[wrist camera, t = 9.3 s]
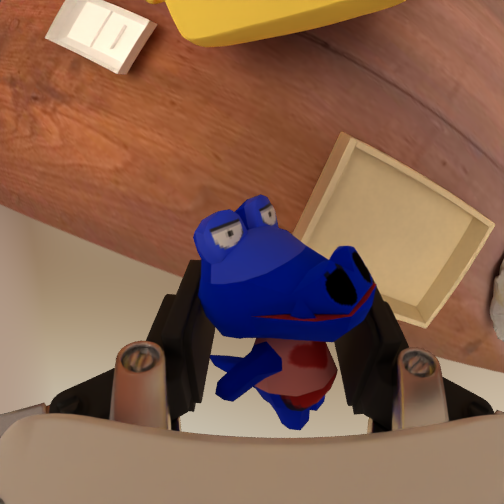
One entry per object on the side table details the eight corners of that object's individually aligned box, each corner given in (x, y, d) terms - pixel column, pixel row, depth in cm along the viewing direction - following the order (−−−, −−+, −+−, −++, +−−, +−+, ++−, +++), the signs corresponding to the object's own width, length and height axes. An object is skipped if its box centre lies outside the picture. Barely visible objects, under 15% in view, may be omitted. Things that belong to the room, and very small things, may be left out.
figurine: (191, 291, 6) (190, 186, 9) (219, 451, 10) (207, 351, 14) (420, 266, 6) (337, 180, 10) (344, 429, 10) (310, 339, 14)
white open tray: (150, 20, 18) (160, 26, 21) (71, -11, 16) (86, -6, 19) (117, 73, 20) (130, 74, 23) (44, 38, 18) (60, 39, 21)
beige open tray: (279, 260, 31) (280, 280, 28) (340, 130, 25) (351, 136, 22) (415, 309, 33) (426, 328, 30) (477, 210, 27) (495, 224, 24)
